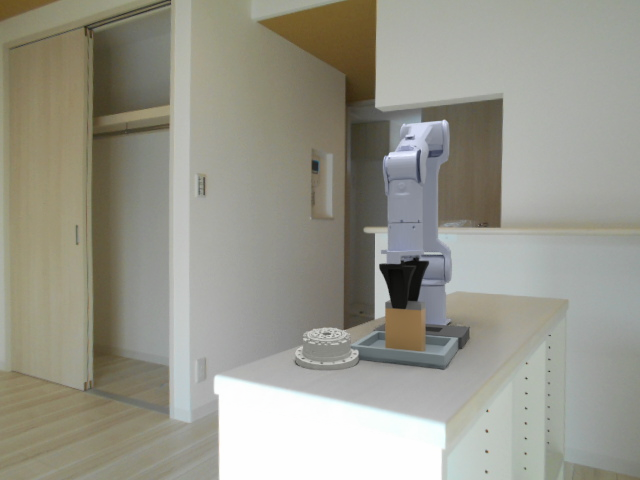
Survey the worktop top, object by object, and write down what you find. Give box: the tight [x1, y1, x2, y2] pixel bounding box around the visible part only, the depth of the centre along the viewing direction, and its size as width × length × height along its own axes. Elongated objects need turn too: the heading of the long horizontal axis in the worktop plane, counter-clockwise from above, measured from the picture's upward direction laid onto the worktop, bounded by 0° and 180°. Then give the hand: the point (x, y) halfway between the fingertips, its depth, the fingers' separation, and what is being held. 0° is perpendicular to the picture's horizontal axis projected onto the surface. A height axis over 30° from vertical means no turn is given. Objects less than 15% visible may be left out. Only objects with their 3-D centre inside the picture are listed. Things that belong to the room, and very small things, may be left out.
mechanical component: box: [294, 327, 360, 371], centre depth 72 cm, size 10×4×10 cm
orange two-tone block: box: [384, 299, 426, 352], centre depth 76 cm, size 3×6×8 cm, turn 65°
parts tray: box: [351, 331, 459, 370], centre depth 76 cm, size 13×15×2 cm
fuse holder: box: [372, 323, 471, 350], centre depth 87 cm, size 10×16×2 cm, turn 65°
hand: (405, 305), depth 76 cm, fingers open, 7 cm apart
